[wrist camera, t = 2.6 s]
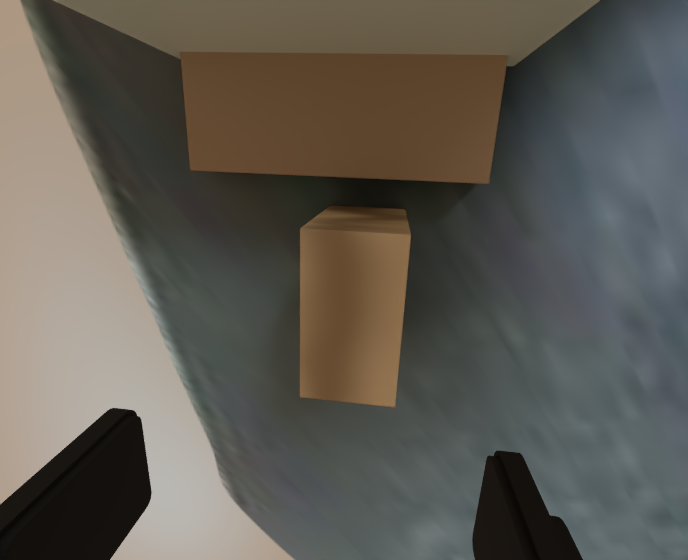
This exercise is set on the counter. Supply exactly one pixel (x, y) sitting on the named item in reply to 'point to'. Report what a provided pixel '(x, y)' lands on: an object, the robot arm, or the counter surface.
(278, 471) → the counter surface
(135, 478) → the robot arm
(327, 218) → the oak box
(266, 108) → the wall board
